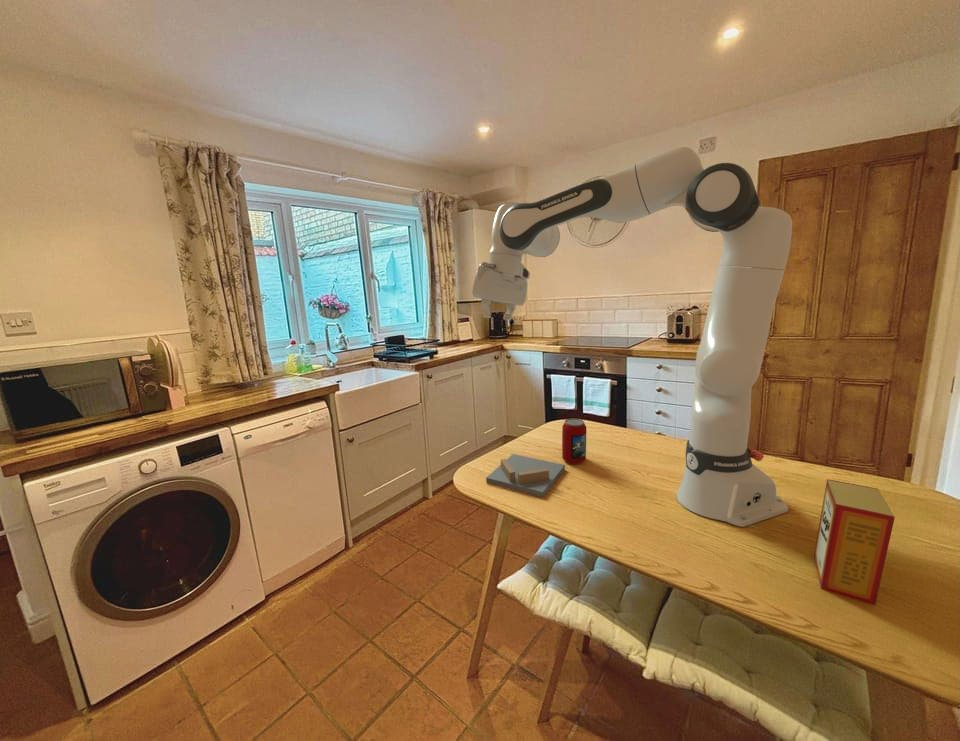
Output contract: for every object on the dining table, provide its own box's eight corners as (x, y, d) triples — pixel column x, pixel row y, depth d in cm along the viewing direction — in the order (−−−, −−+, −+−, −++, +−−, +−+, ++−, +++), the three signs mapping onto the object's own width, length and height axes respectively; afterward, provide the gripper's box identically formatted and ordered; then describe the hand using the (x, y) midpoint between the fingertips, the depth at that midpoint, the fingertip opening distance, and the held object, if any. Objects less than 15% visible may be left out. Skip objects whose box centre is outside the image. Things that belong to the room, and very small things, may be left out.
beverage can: (580, 467, 110) (580, 427, 107) (558, 461, 114) (558, 423, 111) (589, 458, 115) (590, 420, 113) (568, 453, 119) (568, 416, 117)
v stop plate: (513, 458, 117) (512, 446, 116) (564, 469, 109) (564, 456, 108) (486, 482, 104) (485, 468, 103) (542, 497, 96) (542, 482, 95)
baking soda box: (813, 555, 73) (827, 477, 69) (861, 568, 70) (878, 486, 66) (821, 588, 66) (836, 503, 62) (875, 605, 62) (895, 515, 58)
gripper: (489, 260, 95) (482, 317, 97) (533, 274, 111) (526, 322, 113) (470, 260, 99) (463, 314, 101) (514, 273, 115) (508, 320, 117)
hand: (497, 319), depth 107 cm, fingers open, 8 cm apart
